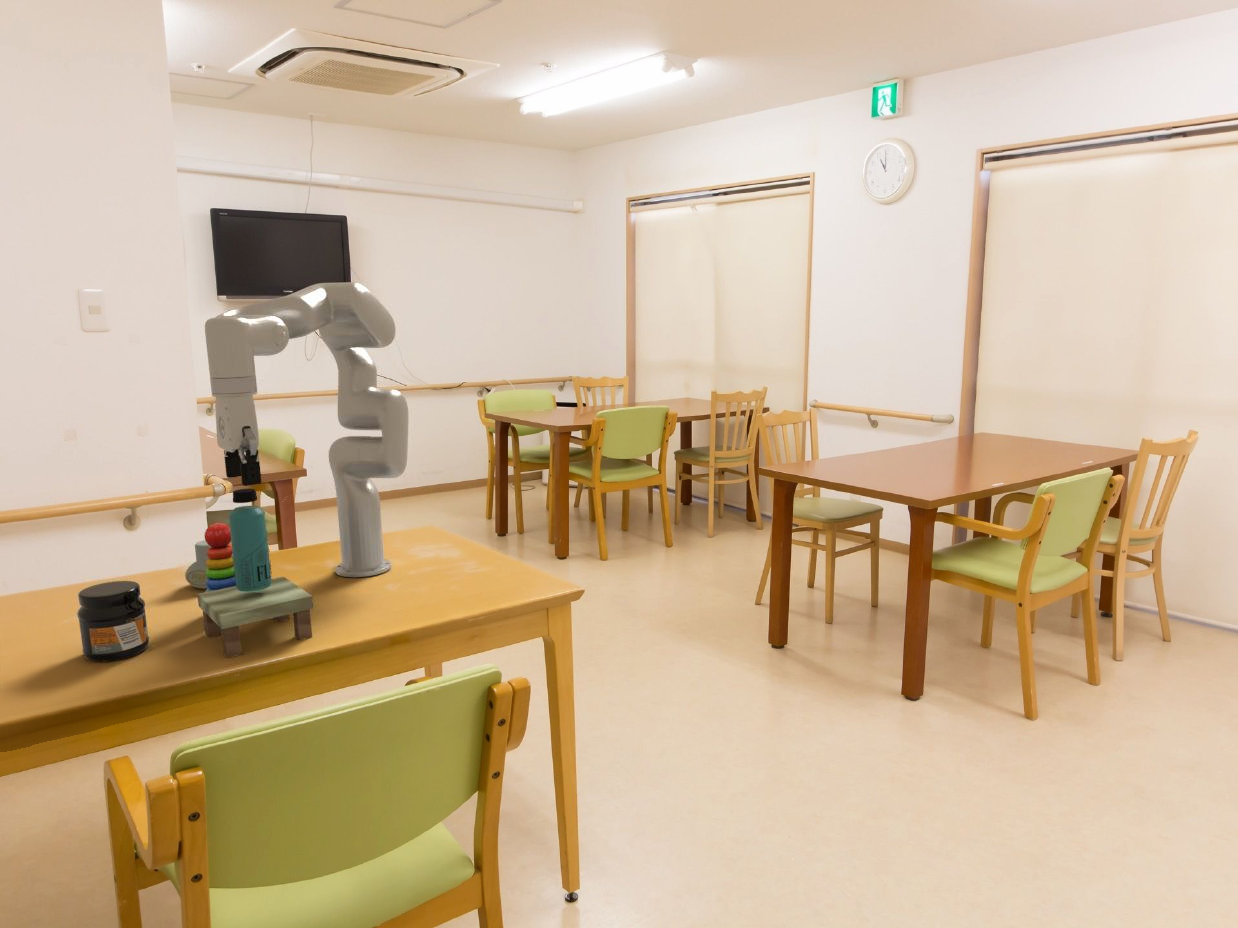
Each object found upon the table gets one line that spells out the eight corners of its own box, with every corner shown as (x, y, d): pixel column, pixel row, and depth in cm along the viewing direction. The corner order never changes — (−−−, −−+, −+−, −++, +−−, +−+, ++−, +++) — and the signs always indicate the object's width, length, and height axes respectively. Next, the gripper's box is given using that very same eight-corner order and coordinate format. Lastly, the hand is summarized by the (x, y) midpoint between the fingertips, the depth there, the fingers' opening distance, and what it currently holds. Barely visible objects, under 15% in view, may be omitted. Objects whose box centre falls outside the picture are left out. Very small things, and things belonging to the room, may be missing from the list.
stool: (201, 634, 165) (197, 593, 164) (287, 614, 175) (283, 576, 174) (225, 659, 153) (220, 616, 152) (315, 636, 163) (312, 595, 161)
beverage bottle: (260, 600, 159) (250, 493, 156) (227, 598, 161) (217, 492, 157) (280, 589, 166) (271, 486, 162) (249, 587, 167) (239, 485, 164)
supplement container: (139, 660, 154) (131, 595, 151) (73, 666, 151) (64, 600, 149) (157, 638, 164) (150, 577, 162) (96, 644, 162) (87, 582, 159)
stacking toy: (257, 608, 179) (248, 520, 176) (228, 622, 172) (218, 530, 168) (226, 605, 182) (217, 517, 178) (196, 618, 174) (186, 527, 171)
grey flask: (179, 590, 192) (174, 546, 190) (203, 578, 200) (198, 536, 198) (224, 592, 190) (220, 547, 189) (246, 580, 198) (242, 537, 197)
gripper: (199, 385, 160) (209, 476, 163) (225, 391, 147) (235, 491, 150) (241, 382, 165) (250, 471, 168) (271, 388, 152) (280, 484, 155)
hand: (243, 480), depth 159 cm, fingers open, 9 cm apart
